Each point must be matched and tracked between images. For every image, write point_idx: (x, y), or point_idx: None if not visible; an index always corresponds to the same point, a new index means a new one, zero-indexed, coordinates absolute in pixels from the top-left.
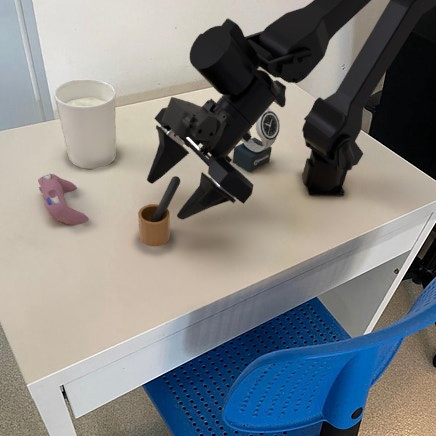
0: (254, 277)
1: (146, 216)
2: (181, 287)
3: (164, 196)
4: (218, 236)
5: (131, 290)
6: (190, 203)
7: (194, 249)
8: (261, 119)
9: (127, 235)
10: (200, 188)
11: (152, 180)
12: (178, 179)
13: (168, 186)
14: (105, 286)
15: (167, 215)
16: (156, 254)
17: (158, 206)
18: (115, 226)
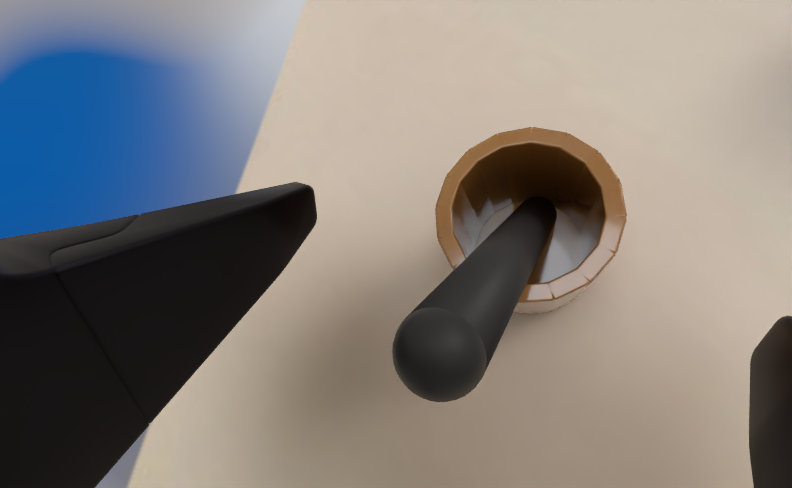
0: None
1: (595, 231)
2: (315, 174)
3: (490, 254)
4: (367, 464)
5: (412, 57)
6: (179, 208)
7: (389, 333)
8: None
9: (646, 199)
10: (22, 262)
11: (768, 361)
12: (398, 355)
13: (478, 285)
14: (481, 6)
15: (458, 255)
16: None
17: (522, 238)
18: (744, 197)
